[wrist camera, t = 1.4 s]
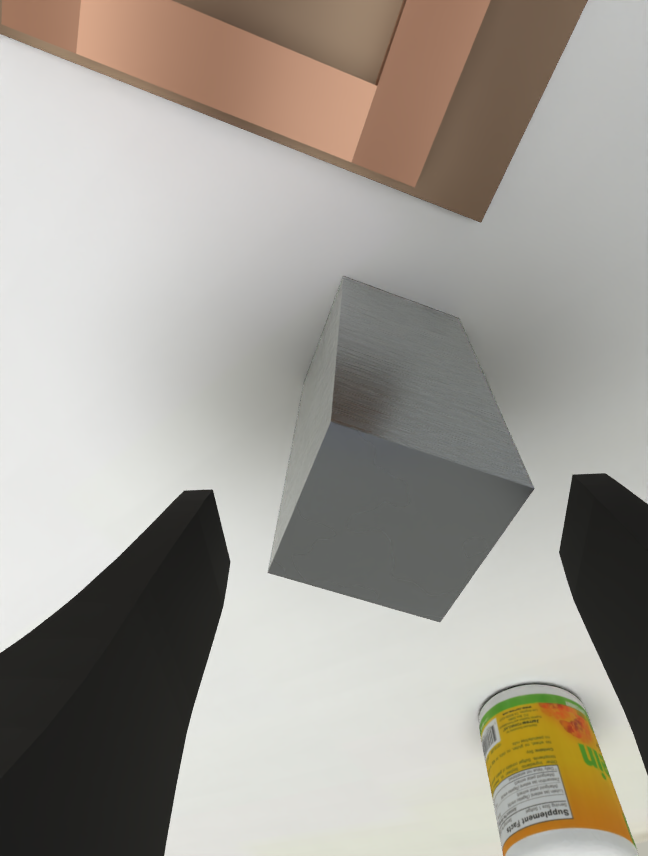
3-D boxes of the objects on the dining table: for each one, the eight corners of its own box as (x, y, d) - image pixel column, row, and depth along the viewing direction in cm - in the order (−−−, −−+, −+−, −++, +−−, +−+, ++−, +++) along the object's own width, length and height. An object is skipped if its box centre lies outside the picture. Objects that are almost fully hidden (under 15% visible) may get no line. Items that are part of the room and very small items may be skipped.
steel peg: (459, 318, 18) (534, 488, 10) (408, 417, 20) (440, 622, 12) (343, 276, 17) (330, 421, 10) (303, 382, 19) (267, 572, 12)
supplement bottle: (600, 724, 29) (697, 979, 21) (504, 751, 31) (557, 996, 22) (559, 668, 27) (650, 928, 18) (459, 701, 28) (499, 951, 20)
